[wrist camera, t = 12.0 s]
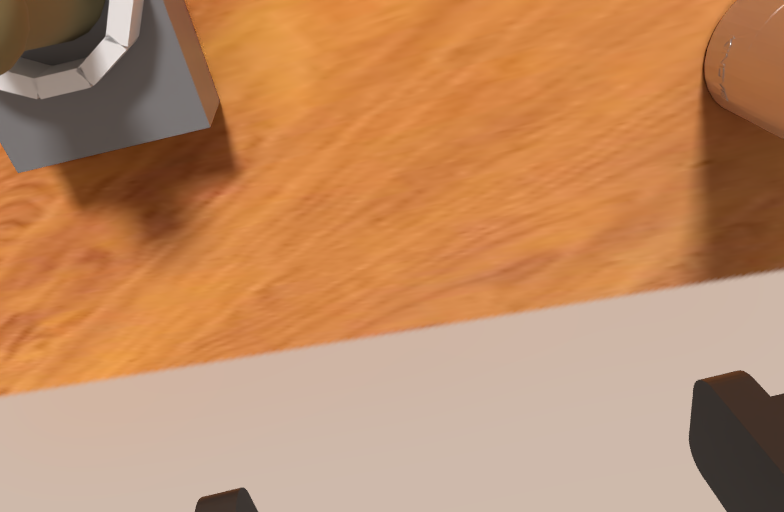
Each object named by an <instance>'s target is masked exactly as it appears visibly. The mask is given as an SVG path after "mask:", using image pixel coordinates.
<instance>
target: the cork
mask: <svg viewBox="0 0 784 512" xmlns="http://www.w3.org/2000/svg"><path fill="white" fill-rule="evenodd" d="M104 3H105V0H0V75H2V74H4V73H6V72H7V71H9V70H10V69H11V68H12V67H13V66H14V64H15V63H16V62H17V61H18V59H19V58H20V57H21V55H22V54H23V52H24V51H27V50H31V49H36V48H41V47H46V46H50V45H55V44H60V43H64V42H69V41H73V40H75V39H77V38H79V37H81V36H82V35H84V34H86V33H88V32H89V31H90V30H91V29H92V27H93V26H94V25H95V24H96V22H97V21H98V20H99V19H100V16H101V13H102V10H103V6H104Z"/></svg>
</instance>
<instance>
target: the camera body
mask: <svg viewBox="0 0 784 512" xmlns="http://www.w3.org/2000/svg"><path fill="white" fill-rule="evenodd" d="M219 102H220V100H219V97H218V94H217V91H216V89H215V86H214V83H213V80H212V77H211V75H210V72H209V69H208V66H207V63H206V61H205V58H204V55H203V52H202V49H201V47H200V44H199V41H198V38H197V35H196V33H195V30H194V27H193V24H192V21H191V18H190V16H189V13H188V10H187V7H186V4H185V2H184V0H105V3H104V6H103V10H102V13H101V16H100V19H99V20H98V21H97V22H96V24H95V25H94V26H93V27H92V29H91V30H90V31H89V32H88V33H86V34H84V35H82V36H81V37H79V38H77V39H75V40H73V41H69V42H64V43H60V44H55V45H50V46H46V47H41V48H36V49H31V50H27V51H24V52H23V54H22V55H21V57H20V58H19V59H18V61H17V62H16V63H15V64H14V66H13V67H12V68H11V69H10V70H9V71H7V72H6V73H4V74H2V75H0V143H1V144H2V146H3V148H4V150H5V151H6V153H7V155H8V157H9V158H10V160H11V162H12V164H13V165H14V167H15V169H16V170H17V172H18V173H20V172H25V171H29V170H33V169H37V168H41V167H46V166H50V165H54V164H58V163H62V162H67V161H71V160H75V159H79V158H83V157H88V156H92V155H96V154H100V153H104V152H109V151H113V150H117V149H121V148H125V147H130V146H134V145H138V144H142V143H146V142H151V141H155V140H159V139H163V138H167V137H172V136H176V135H180V134H184V133H188V132H193V131H197V130H201V129H205V128H209V127H211V124H212V121H213V119H214V116H215V113H216V110H217V108H218V105H219Z"/></svg>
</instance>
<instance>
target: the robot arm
mask: <svg viewBox="0 0 784 512" xmlns="http://www.w3.org/2000/svg"><path fill="white" fill-rule="evenodd" d="M705 80H706V84H707V87H708V90H709V92H710V94H711V95H712V97H713V99H714V100H715V101H716V102H717V103H718V104H719V105H720V106H721V107H723V108H725V109H727V110H728V111H730V112H732V113H734V114H736V115H738V116H740V117H742V118H744V119H746V120H748V121H750V122H752V123H753V124H755V125H757V126H759V127H761V128H763V129H764V130H766V131H768V132H770V133H772V134H774V135H776V136H778V137H780V138H782V139H784V0H737V1H736V2H735V3H734V4H733V5H732V6H731V7H730V8H729V10H728V11H727V12H726V13H725V15H724V16H723V17H722V19H721V20H720V22H719V24H718V25H717V27H716V29H715V31H714V33H713V35H712V37H711V40H710V43H709V45H708V48H707V53H706V58H705ZM689 444H690V449H691V453H692V456H693V459H694V461H695V463H696V466H697V468H698V469H699V471H700V473H701V475H702V476H703V478H704V479H705V480H706V482H707V483H708V485H709V486H710V488H711V489H712V491H713V492H714V494H715V495H716V496H717V498H718V499H719V501H720V502H721V504H722V505H723V507H724V508H725V510H726V511H727V512H784V394H780V395H776V396H771V397H770V396H769V395H768V393H767V392H766V391H765V390H764V389H763V388H762V387H761V386H760V385H759V384H758V383H757V382H756V381H755V379H754V378H753V377H751V376H750V375H749V374H748V373H746V372H744V371H741V370H740V371H735V372H730V373H726V374H723V375H718V376H714V377H709V378H705V379H701V380H698V381H696V383H695V385H694V388H693V399H692V410H691V421H690V431H689ZM195 512H258V511H257V509H256V507H255V505H254V503H253V501H252V499H251V497H250V495H249V493H248V491H247V490H246V489H245V488H238V489H234V490H230V491H226V492H222V493H217V494H213V495H209V496H205V497H201V498H200V499H199V500H198V502H197V505H196V509H195Z"/></svg>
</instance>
